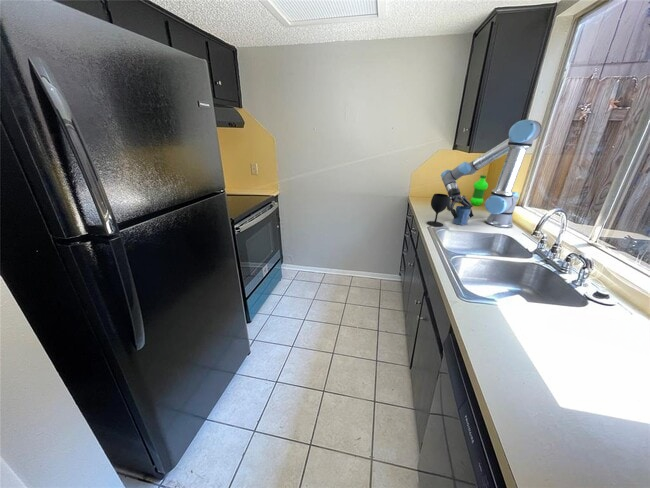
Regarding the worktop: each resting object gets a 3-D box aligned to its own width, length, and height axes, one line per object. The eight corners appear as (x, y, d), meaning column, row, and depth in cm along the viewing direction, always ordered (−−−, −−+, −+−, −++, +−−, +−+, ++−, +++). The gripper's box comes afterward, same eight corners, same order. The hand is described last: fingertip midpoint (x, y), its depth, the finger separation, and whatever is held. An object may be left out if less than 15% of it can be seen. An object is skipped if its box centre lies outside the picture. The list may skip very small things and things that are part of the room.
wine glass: (444, 227, 169) (451, 197, 161) (428, 225, 170) (434, 196, 162) (441, 222, 178) (447, 193, 170) (425, 221, 180) (431, 192, 172)
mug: (452, 220, 183) (456, 205, 179) (466, 222, 180) (470, 206, 176) (453, 225, 173) (456, 209, 168) (467, 227, 170) (472, 211, 165)
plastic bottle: (466, 203, 229) (473, 174, 219) (477, 203, 230) (485, 174, 220) (473, 206, 220) (481, 176, 210) (484, 206, 221) (493, 176, 211)
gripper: (463, 192, 188) (474, 218, 181) (435, 194, 181) (445, 221, 174) (470, 187, 181) (482, 213, 174) (441, 188, 174) (453, 216, 167)
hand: (464, 217), depth 174 cm, fingers open, 13 cm apart
